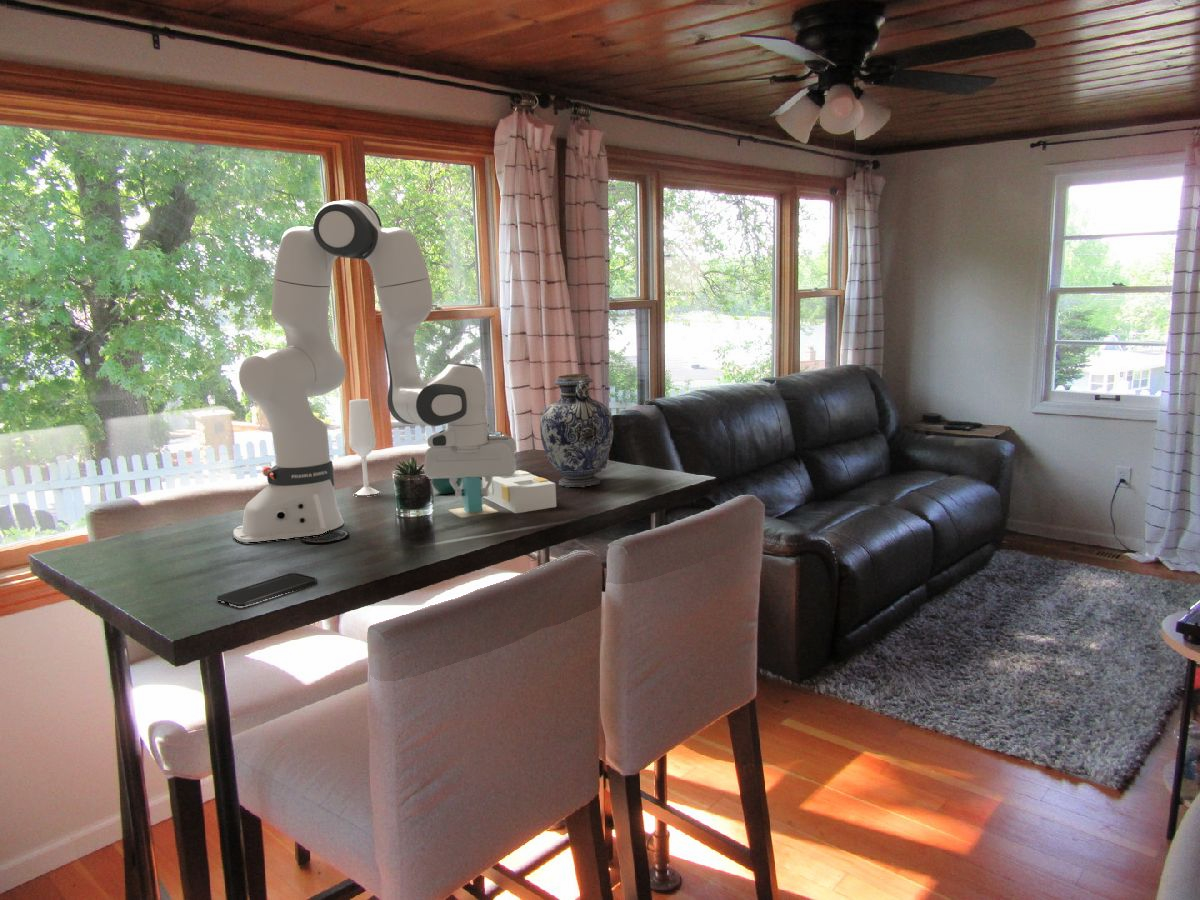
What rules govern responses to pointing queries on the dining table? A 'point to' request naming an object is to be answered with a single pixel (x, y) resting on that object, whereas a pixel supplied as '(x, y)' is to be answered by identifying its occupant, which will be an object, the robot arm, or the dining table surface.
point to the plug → (472, 494)
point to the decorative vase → (577, 432)
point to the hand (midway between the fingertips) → (472, 496)
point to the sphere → (444, 485)
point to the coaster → (462, 513)
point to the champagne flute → (362, 437)
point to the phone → (268, 589)
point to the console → (521, 492)
